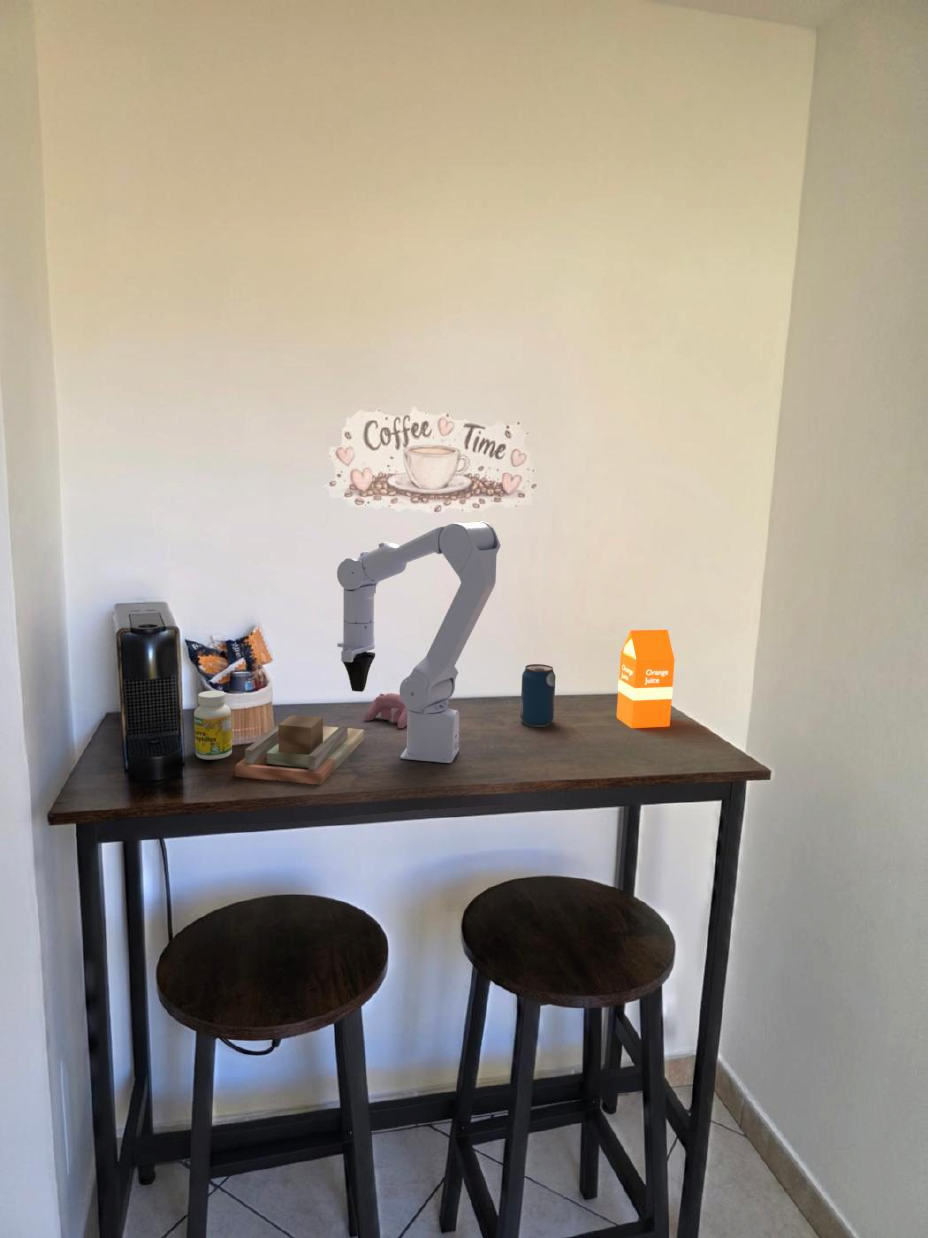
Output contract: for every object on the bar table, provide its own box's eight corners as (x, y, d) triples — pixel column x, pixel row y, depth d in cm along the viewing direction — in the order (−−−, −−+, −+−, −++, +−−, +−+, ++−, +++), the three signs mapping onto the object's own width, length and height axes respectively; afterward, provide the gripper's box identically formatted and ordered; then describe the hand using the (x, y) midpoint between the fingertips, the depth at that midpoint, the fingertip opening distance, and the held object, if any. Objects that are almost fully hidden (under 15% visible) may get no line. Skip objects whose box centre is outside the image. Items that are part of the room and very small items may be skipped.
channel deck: (363, 739, 160) (363, 717, 159) (320, 785, 137) (320, 759, 136) (290, 733, 163) (290, 710, 162) (235, 776, 139) (234, 751, 139)
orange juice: (670, 726, 174) (677, 633, 171) (631, 728, 172) (638, 634, 169) (652, 715, 182) (659, 626, 178) (615, 717, 180) (621, 626, 176)
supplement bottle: (238, 751, 152) (237, 691, 150) (218, 762, 146) (217, 700, 144) (208, 746, 153) (207, 687, 151) (187, 757, 147) (185, 696, 145)
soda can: (560, 724, 173) (562, 669, 171) (534, 729, 169) (536, 672, 167) (538, 716, 179) (541, 662, 177) (513, 720, 175) (515, 665, 173)
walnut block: (322, 744, 151) (322, 717, 150) (311, 755, 145) (311, 727, 144) (291, 741, 152) (291, 715, 151) (278, 752, 146) (278, 724, 145)
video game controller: (412, 733, 170) (421, 700, 171) (400, 728, 166) (410, 694, 168) (373, 724, 175) (383, 692, 176) (361, 719, 171) (371, 686, 173)
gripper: (350, 613, 165) (350, 679, 167) (325, 626, 151) (325, 698, 153) (384, 615, 164) (383, 682, 166) (362, 629, 150) (362, 701, 152)
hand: (358, 690), depth 160 cm, fingers closed
